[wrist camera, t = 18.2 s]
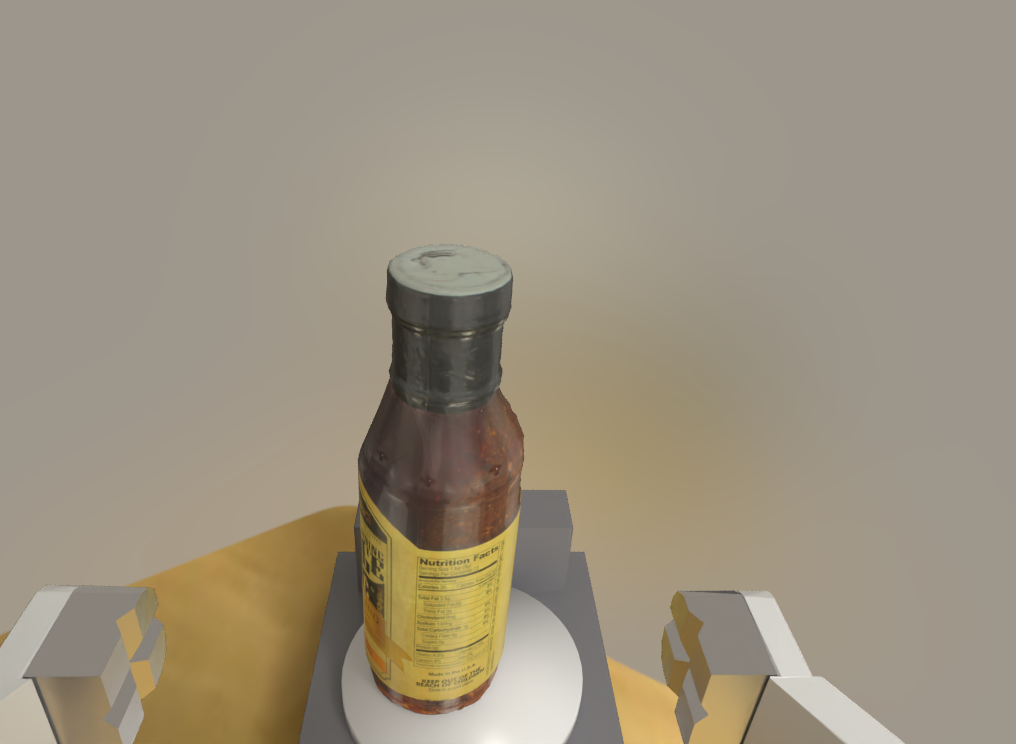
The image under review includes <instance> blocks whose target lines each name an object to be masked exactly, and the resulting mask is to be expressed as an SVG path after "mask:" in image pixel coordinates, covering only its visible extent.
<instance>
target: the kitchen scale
mask: <svg viewBox="0 0 1016 744" xmlns="http://www.w3.org/2000/svg"><path fill="white" fill-rule="evenodd" d="M520 502H521V507H520V516H519V524H518V533H517V541H516V549H515V558H514V566H513V575H512V583H511V591H510V600H509V608H508V616H507V624H506V632H505V642H504V649H503V653H502V656H501V659H500V662H499V664H498V668H497V671H496V673H495V676H494V678H493V680H492V682H491V684H490V687H489V688H488V689H487V690H486V691H485V693H484V694H483V695H482V697H481V698H480V699H479V700H478V701H477V702H475V703H474V704H472V705H469V706H467V707H464V708H463V709H461V710H455V711H453V712H450V713H448V714H439V715H424V714H418V713H414V712H412V711H410V710H407V709H405V708H403V707H402V706H400V705H398V704H395V703H393V702H391V701H390V700H389V699H388V698H387V697H386V696H384V695H383V694H382V692H381V691H379V689H378V687H377V685H376V683H375V681H374V677H373V674H372V671H371V668H370V664H369V662H368V659H367V656H366V650H365V636H364V612H363V588H362V564H361V536H360V504H358V509H357V515H356V520H355V525H354V534H355V548H356V552H338V554H337V559H336V564H335V569H334V574H333V579H332V583H331V588H330V593H329V598H328V603H327V608H326V612H325V617H324V622H323V627H322V632H321V637H320V642H319V646H318V651H317V656H316V661H315V666H314V671H313V675H312V680H311V685H310V690H309V695H308V700H307V704H306V709H305V714H304V719H303V724H302V729H301V733H300V738H299V743H298V744H624V742H623V737H622V732H621V727H620V722H619V717H618V713H617V708H616V703H615V698H614V693H613V688H612V684H611V679H610V674H609V669H608V664H607V659H606V654H605V650H604V645H603V640H602V635H601V630H600V626H599V621H598V616H597V611H596V606H595V601H594V596H593V591H592V587H591V582H590V577H589V572H588V567H587V563H586V558H585V553H584V552H570V547H571V540H572V533H573V525H572V519H571V514H570V509H569V504H568V499H567V494H566V491H565V490H521V499H520Z"/></svg>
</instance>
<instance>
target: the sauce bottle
mask: <svg viewBox="0 0 1016 744" xmlns="http://www.w3.org/2000/svg"><path fill="white" fill-rule="evenodd" d="M512 282H513V276H512V270H511V267H510V266H509V264H508V263H507V262H506V261H505V260H503V259H502V258H501V257H499V256H497V255H493V254H491V253H489V252H487V251H485V250H482V249H479V248H474V247H469V246H463V245H454V244H441V245H427V246H424V247H417V248H414V249H411V250H409V251H407V252H404V253H401V254H399V255H397V256H396V257H395V258H394V259H392V260H391V261H390V263H389V266H388V269H387V290H386V302H387V305H388V308H389V310H390V311H391V314H392V339H393V345H392V363H391V366H390V369H389V374H390V379H389V382H388V385H387V387H386V390H385V393H384V395H383V398H382V400H381V403H380V406H379V408H378V410H377V413H376V415H375V417H374V419H373V422H372V424H371V426H370V428H369V431H368V433H367V435H366V438H365V440H364V442H363V444H362V447H361V450H360V453H359V458H358V479H359V504H360V536H361V564H362V588H363V612H364V636H365V650H366V656H367V659H368V662H369V664H370V668H371V671H372V674H373V677H374V681H375V683H376V685H377V687H378V689H379V691H381V692H382V694H383V695H384V696H386V697H387V698H388V699H389V700H390V701H391V702H393V703H395V704H398V705H400V706H402V707H403V708H405V709H407V710H410V711H412V712H414V713H418V714H424V715H439V714H448V713H450V712H453V711H455V710H461V709H463V708H464V707H467V706H469V705H472V704H474V703H475V702H477V701H478V700H479V699H480V698H481V697H482V695H483V694H484V693H485V691H486V690H487V689H488V688H489V687H490V684H491V682H492V680H493V678H494V676H495V673H496V671H497V668H498V664H499V662H500V659H501V656H502V653H503V649H504V642H505V632H506V624H507V616H508V608H509V600H510V591H511V583H512V575H513V566H514V558H515V549H516V541H517V533H518V524H519V516H520V507H521V502H520V499H521V487H520V481H521V477H520V476H521V470H522V467H523V461H524V449H523V439H524V435H523V432H522V429H521V427H520V425H519V422H518V419H517V416H516V414H515V413H514V412H513V411H512V409H511V406H510V404H509V402H508V401H507V399H505V397H504V396H503V394H502V392H501V390H500V388H499V385H500V382H501V377H502V367H501V365H500V359H501V347H502V332H503V324H504V322H505V321H506V320H507V318H508V315H509V312H510V309H511V298H512Z"/></svg>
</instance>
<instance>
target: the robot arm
mask: <svg viewBox="0 0 1016 744" xmlns="http://www.w3.org/2000/svg"><path fill="white" fill-rule="evenodd" d="M157 607H158V601H157V597H156V594H155V591H154V589H152V588H146V587H114V586H84V585H81V586H70V585H46V586H44V587H43V588H42V589H40V590H39V591H38V592H37V593H35V595H34V596H33V598H32V599H31V601H30V602H29V604H28V605H27V607H26V609H25V610H24V612H23V613H22V615H21V616H20V618H19V619H18V621H17V622H16V624H15V625H14V627H13V628H12V630H11V631H10V633H9V634H8V636H7V637H6V639H5V641H4V642H3V644H2V645H1V647H0V744H133V742H134V740H135V737H136V735H137V732H138V730H139V727H140V725H141V723H142V720H143V718H144V712H143V708H142V704H141V700H142V699H143V698H144V697H145V696H147V695H148V694H149V693H150V692H151V691H153V690H154V689H155V688H156V686H157V683H158V680H159V678H160V675H161V673H162V670H163V664H164V659H165V654H166V634H165V629H164V625H163V624H162V623H161V622H160V621H158V620H157V619H156V618H155V617H153V616H154V613H155V611H156V609H157ZM670 609H671V612H672V615H673V618H674V619H673V620H672V621H671V622H670V623H668V624H667V625H666V626H665V628H664V633H663V638H662V656H661V658H662V665H663V671H664V675H665V679H666V683H667V686H668V687H669V688H670V689H671V690H672V691H673V692H674V693H675V694H676V695H677V696H678V697H679V698H678V701H677V705H676V708H675V715H676V718H677V722H678V725H679V729H680V732H681V736H682V739H683V742H684V744H905V743H904V742H902V741H901V740H900V739H899V738H897V737H896V736H895V735H894V734H893V733H891V732H890V731H889V730H887V729H886V728H885V727H884V726H883V725H881V724H880V723H879V722H878V721H876V720H875V719H874V718H873V717H871V716H870V715H869V714H868V713H867V712H865V711H864V710H863V709H861V708H860V707H859V706H858V705H857V704H855V703H854V702H853V701H852V700H850V699H849V698H848V697H846V696H845V695H844V694H843V693H842V692H840V691H839V690H838V689H837V688H836V687H834V686H833V685H832V684H831V683H829V682H828V681H827V680H826V679H824V678H823V677H820V676H812V674H811V672H810V669H809V668H808V666H807V663H806V661H805V660H804V657H803V655H802V653H801V651H800V649H799V647H798V645H797V643H796V641H795V639H794V637H793V635H792V633H791V631H790V629H789V627H788V625H787V623H786V621H785V619H784V617H783V615H782V613H781V611H780V609H779V607H778V605H777V603H776V601H775V599H774V596H773V595H772V594H770V593H769V592H768V591H737V592H736V591H677V592H676V594H675V595H674V596H673V599H672V602H671V606H670Z"/></svg>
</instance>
